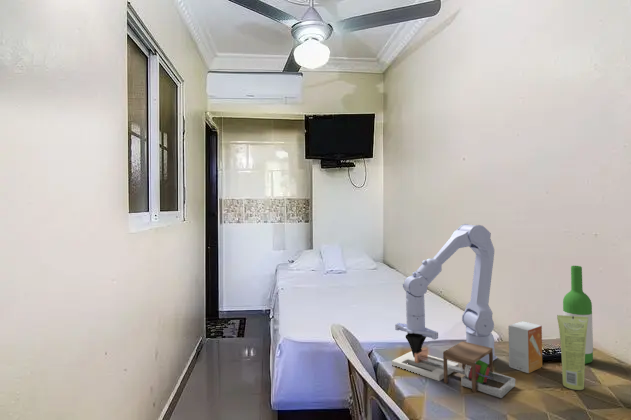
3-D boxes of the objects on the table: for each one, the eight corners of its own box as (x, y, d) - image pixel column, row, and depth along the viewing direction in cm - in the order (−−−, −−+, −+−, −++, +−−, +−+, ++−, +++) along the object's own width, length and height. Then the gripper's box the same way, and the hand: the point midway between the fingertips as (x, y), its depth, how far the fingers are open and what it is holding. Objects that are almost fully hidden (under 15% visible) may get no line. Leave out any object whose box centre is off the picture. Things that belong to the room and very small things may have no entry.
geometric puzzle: (484, 369, 116) (471, 349, 114) (503, 378, 110) (489, 358, 108) (469, 387, 114) (455, 368, 112) (487, 397, 108) (473, 377, 106)
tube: (571, 380, 112) (569, 312, 112) (590, 387, 107) (588, 316, 107) (558, 385, 109) (556, 314, 109) (577, 392, 105) (575, 319, 105)
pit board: (412, 354, 134) (412, 350, 134) (458, 368, 122) (458, 363, 122) (391, 365, 126) (391, 360, 126) (439, 380, 114) (439, 375, 114)
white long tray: (428, 360, 129) (427, 346, 129) (515, 385, 109) (514, 369, 109) (411, 369, 122) (411, 354, 122) (501, 398, 102) (500, 380, 102)
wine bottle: (564, 353, 132) (562, 263, 131) (593, 358, 127) (591, 265, 127) (563, 361, 125) (561, 267, 125) (593, 366, 121) (591, 268, 121)
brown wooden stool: (463, 369, 121) (462, 341, 121) (493, 378, 115) (492, 348, 115) (444, 382, 113) (443, 351, 113) (474, 392, 106) (474, 360, 106)
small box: (529, 374, 117) (528, 330, 117) (508, 367, 122) (507, 325, 122) (543, 367, 121) (542, 325, 121) (522, 361, 127) (521, 320, 127)
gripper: (389, 312, 129) (390, 354, 129) (429, 321, 118) (430, 366, 118) (401, 308, 133) (402, 348, 134) (441, 316, 123) (442, 359, 123)
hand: (416, 356), depth 126 cm, fingers closed
